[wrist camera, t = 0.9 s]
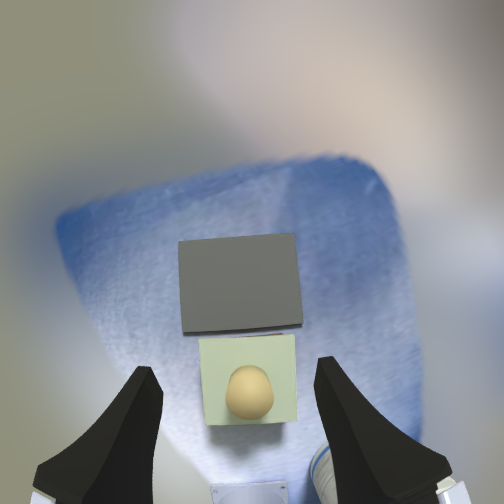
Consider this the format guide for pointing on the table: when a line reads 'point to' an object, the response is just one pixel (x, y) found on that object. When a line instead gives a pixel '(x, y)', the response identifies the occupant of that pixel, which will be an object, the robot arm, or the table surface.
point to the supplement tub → (326, 479)
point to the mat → (239, 283)
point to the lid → (248, 379)
